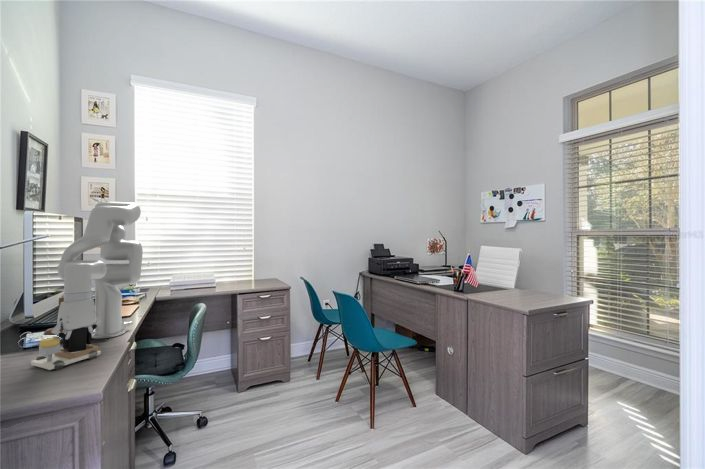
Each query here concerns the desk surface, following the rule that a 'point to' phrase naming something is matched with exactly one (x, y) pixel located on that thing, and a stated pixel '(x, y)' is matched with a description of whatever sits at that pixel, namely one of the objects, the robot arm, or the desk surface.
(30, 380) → the desk surface
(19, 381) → the desk surface
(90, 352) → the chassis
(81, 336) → the ink cartridge
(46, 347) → the yellow white block
